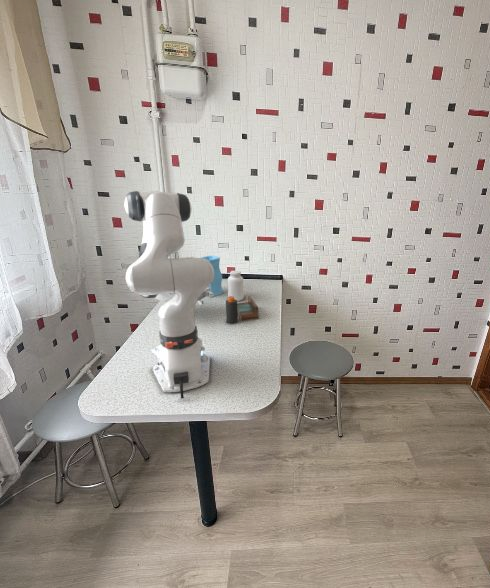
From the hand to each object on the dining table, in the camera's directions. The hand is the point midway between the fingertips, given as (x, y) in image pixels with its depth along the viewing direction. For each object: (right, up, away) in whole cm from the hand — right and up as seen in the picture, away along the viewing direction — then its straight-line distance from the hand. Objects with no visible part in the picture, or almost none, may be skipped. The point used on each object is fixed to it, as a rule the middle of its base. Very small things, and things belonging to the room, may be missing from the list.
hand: (208, 299), depth 150 cm
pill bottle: (+6, 0, +26) cm, 27 cm away
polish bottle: (+11, -10, +1) cm, 15 cm away
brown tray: (+15, -7, +9) cm, 19 cm away
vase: (-8, +3, +32) cm, 33 cm away
